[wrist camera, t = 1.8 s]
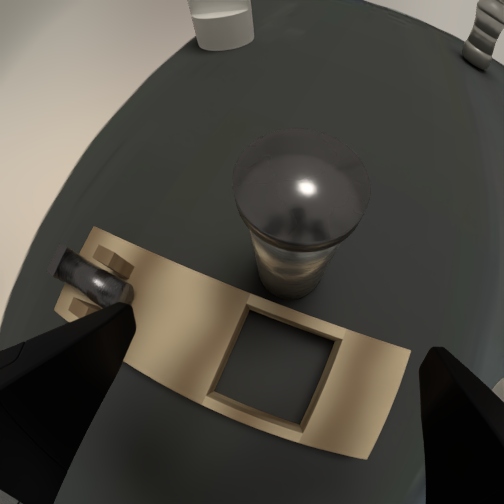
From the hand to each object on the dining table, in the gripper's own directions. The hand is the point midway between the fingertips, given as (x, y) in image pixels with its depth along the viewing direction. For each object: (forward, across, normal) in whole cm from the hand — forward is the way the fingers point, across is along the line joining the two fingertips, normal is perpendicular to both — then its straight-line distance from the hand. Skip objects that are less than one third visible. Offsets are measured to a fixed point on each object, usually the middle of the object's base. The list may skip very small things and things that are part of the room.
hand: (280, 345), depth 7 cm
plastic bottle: (+47, -34, -29) cm, 65 cm away
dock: (+9, +4, +9) cm, 13 cm away
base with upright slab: (+39, +13, -21) cm, 46 cm away
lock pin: (+8, +14, +6) cm, 17 cm away
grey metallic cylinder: (+13, 0, +4) cm, 14 cm away
